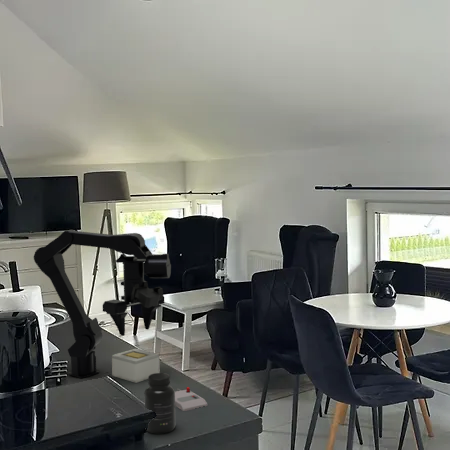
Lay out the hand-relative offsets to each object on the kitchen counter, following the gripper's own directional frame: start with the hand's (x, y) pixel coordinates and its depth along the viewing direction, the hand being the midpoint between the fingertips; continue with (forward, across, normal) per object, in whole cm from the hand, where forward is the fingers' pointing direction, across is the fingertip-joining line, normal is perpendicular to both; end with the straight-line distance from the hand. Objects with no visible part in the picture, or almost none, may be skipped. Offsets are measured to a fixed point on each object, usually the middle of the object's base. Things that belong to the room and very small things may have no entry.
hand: (135, 332), depth 176 cm
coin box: (+12, 0, 0) cm, 12 cm away
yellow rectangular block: (+12, 0, 0) cm, 12 cm away
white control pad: (+13, -7, -25) cm, 29 cm away
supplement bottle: (+13, -23, -33) cm, 42 cm away
